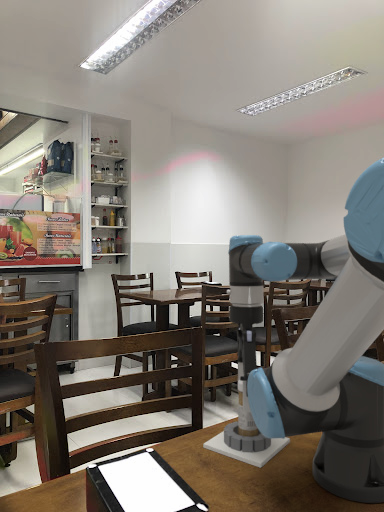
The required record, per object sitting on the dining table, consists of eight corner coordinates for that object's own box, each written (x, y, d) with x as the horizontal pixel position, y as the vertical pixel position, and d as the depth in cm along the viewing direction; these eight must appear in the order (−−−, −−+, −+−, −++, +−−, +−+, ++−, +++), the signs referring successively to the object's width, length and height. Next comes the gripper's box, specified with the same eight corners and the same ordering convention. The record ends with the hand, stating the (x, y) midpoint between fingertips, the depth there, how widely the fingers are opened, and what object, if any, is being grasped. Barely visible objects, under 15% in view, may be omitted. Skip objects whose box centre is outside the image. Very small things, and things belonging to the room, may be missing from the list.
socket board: (290, 442, 92) (290, 427, 92) (260, 467, 81) (260, 451, 81) (236, 426, 101) (236, 413, 101) (203, 447, 90) (203, 432, 90)
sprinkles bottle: (256, 436, 93) (256, 377, 93) (260, 446, 89) (260, 384, 88) (236, 436, 93) (236, 377, 93) (239, 446, 88) (239, 384, 88)
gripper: (226, 299, 104) (227, 382, 104) (232, 311, 79) (232, 421, 79) (256, 299, 104) (256, 382, 104) (271, 311, 79) (272, 422, 79)
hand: (246, 400), depth 91 cm, fingers open, 13 cm apart
